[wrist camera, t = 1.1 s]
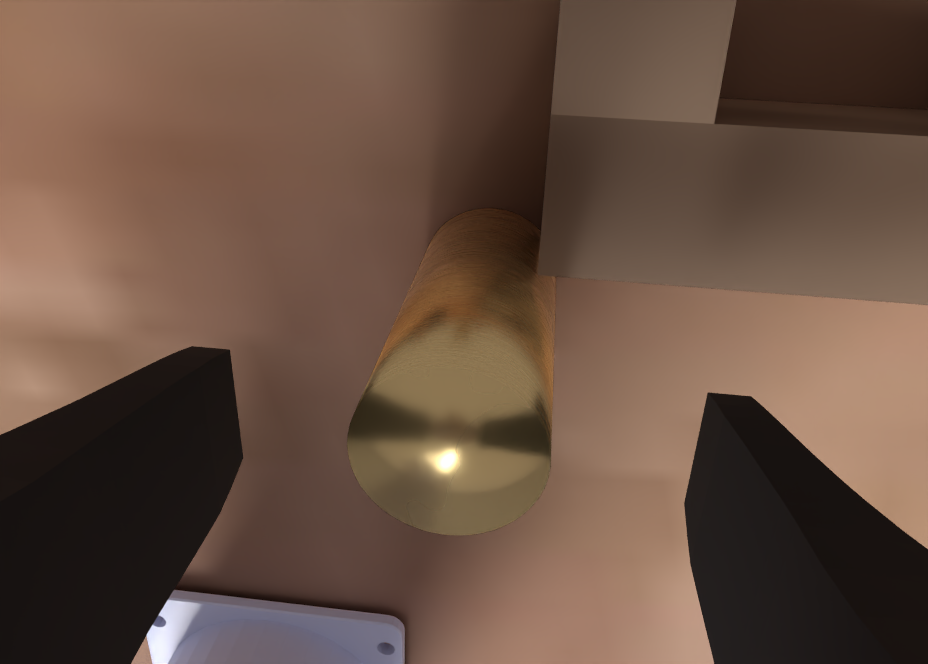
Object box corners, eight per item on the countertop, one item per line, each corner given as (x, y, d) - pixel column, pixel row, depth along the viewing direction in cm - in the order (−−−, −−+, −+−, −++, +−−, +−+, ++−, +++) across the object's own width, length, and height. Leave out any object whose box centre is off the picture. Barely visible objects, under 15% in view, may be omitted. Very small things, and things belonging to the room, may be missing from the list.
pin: (550, 336, 18) (542, 545, 12) (423, 325, 18) (350, 524, 12) (562, 212, 17) (559, 377, 10) (425, 203, 17) (343, 357, 11)
